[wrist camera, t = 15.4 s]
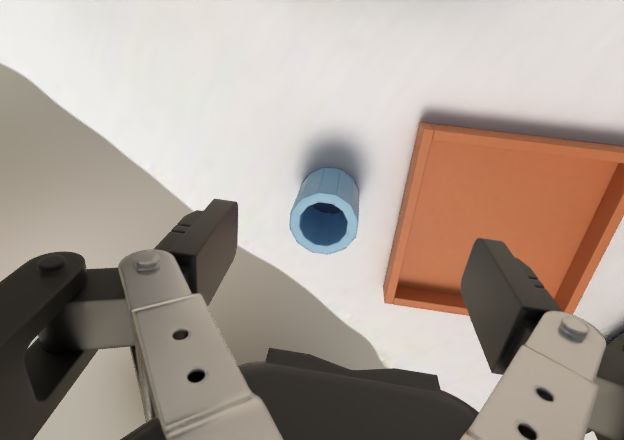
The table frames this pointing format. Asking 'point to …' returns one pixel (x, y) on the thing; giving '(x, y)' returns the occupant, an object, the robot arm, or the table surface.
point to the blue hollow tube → (322, 226)
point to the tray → (503, 212)
